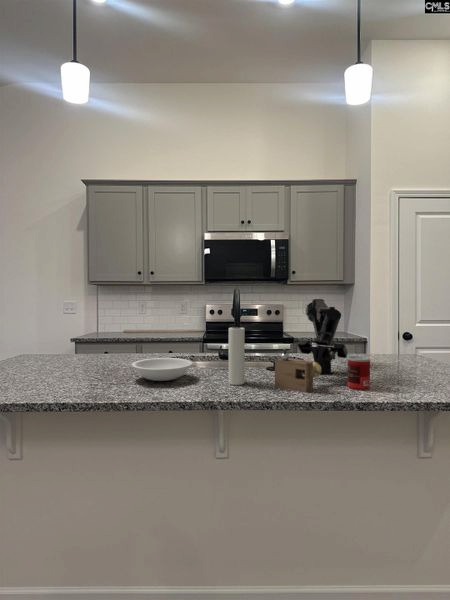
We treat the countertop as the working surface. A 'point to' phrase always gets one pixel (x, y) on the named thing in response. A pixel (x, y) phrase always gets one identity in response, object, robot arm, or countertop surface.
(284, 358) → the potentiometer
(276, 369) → the mount
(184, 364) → the soup bowl
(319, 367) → the knob
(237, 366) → the paper towel roll
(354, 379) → the canned food
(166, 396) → the countertop surface
